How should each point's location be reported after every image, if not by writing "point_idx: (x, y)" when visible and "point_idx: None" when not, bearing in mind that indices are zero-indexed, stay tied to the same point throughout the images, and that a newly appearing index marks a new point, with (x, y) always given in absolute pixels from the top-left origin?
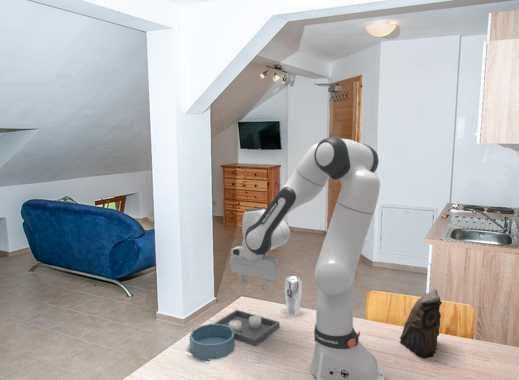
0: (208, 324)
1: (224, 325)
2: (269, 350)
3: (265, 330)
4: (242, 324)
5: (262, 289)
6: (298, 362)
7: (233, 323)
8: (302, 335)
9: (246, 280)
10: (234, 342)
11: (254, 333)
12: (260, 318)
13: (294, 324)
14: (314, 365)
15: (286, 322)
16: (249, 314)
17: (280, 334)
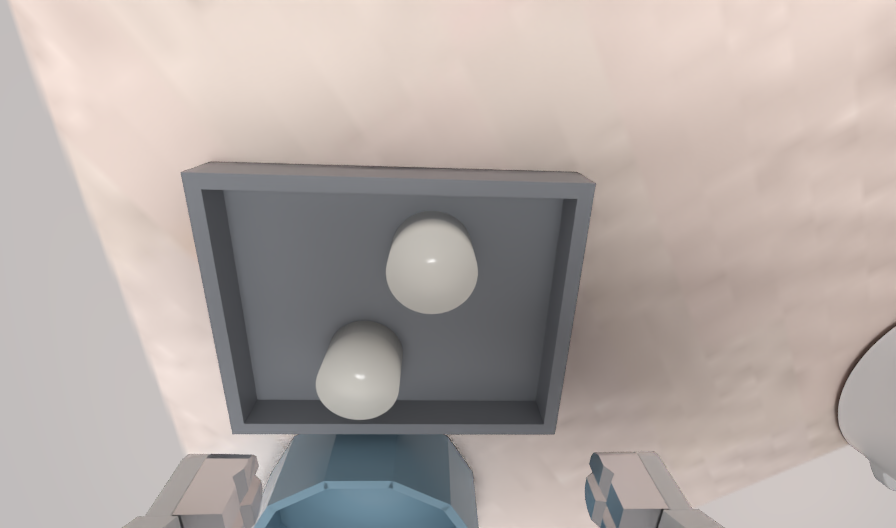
0: (264, 515)
1: (351, 483)
2: (614, 387)
3: (557, 331)
4: (342, 264)
5: (592, 509)
6: (774, 401)
7: (353, 398)
8: (742, 164)
9: (226, 522)
10: (454, 465)
11: (475, 318)
12: (468, 255)
13: (649, 39)
14: (893, 470)
15: (581, 41)
16: (328, 192)
17: (606, 224)
